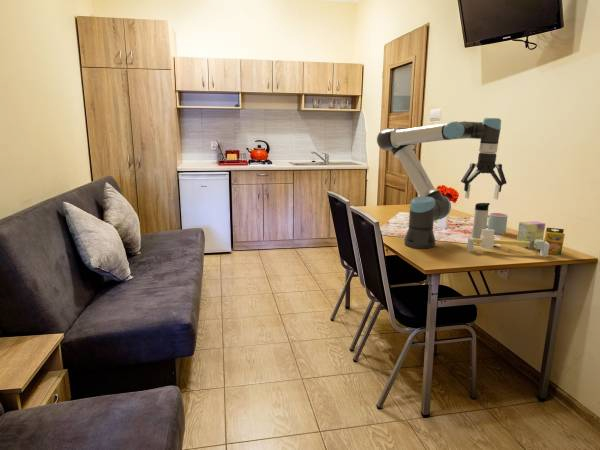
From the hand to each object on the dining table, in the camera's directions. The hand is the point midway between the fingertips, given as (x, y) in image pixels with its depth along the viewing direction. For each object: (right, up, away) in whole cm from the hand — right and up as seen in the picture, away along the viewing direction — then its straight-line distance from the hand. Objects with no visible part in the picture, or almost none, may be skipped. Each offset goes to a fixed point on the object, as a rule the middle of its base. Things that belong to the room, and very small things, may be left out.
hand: (481, 198), depth 194 cm
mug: (+22, -16, +37) cm, 46 cm away
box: (+29, -23, +11) cm, 38 cm away
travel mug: (+7, -21, +19) cm, 29 cm away
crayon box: (+33, -26, 0) cm, 42 cm away
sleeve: (+3, -23, +1) cm, 23 cm away
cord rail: (+12, -26, 0) cm, 28 cm away
